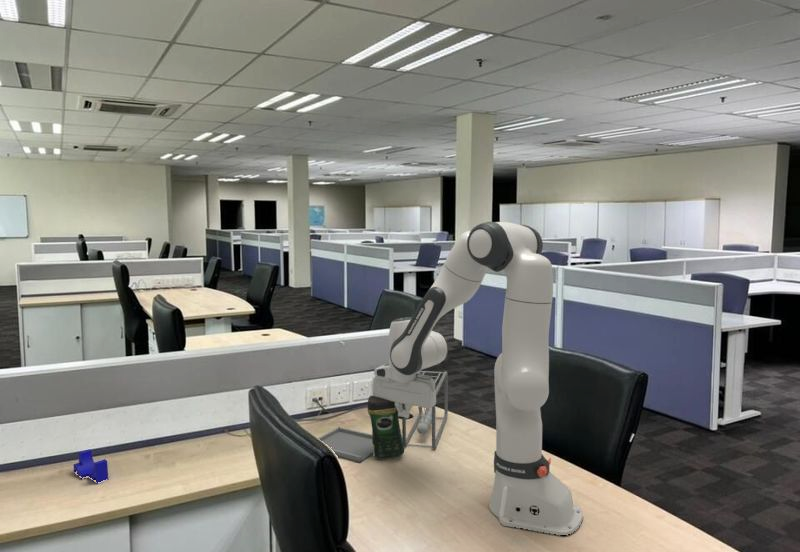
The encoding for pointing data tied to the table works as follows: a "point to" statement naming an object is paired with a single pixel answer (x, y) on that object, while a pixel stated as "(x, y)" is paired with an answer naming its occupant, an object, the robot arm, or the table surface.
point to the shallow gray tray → (349, 444)
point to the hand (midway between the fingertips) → (403, 416)
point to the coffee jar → (385, 428)
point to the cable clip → (91, 467)
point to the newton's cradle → (428, 416)
